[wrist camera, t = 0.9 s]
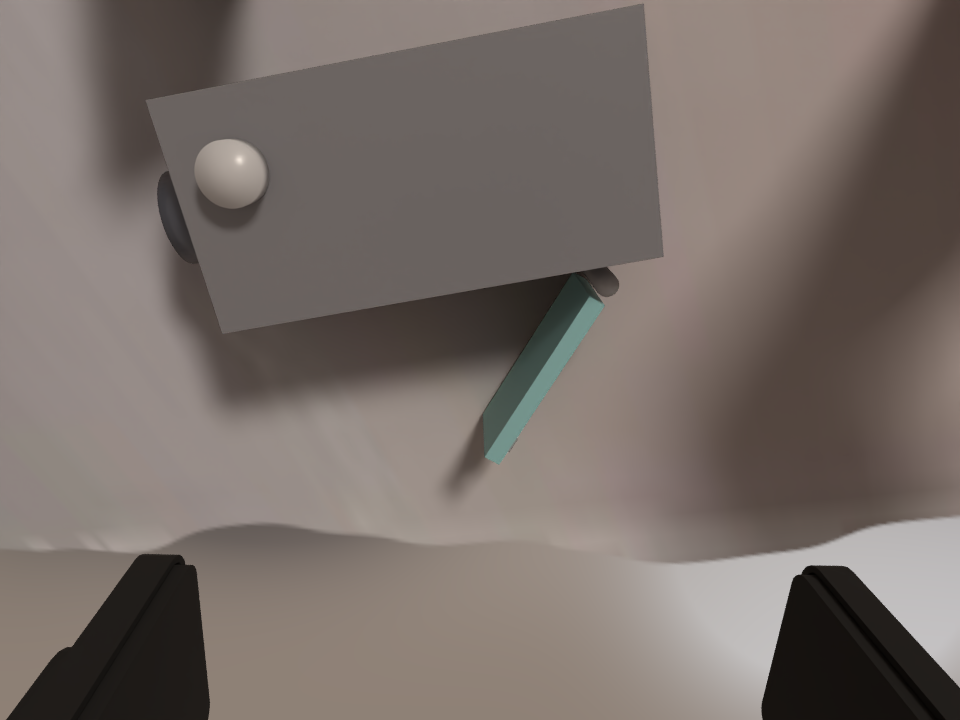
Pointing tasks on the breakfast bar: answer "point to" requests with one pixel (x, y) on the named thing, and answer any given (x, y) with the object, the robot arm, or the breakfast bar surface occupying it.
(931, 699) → the robot arm
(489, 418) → the side door
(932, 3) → the breakfast bar surface
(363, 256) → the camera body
